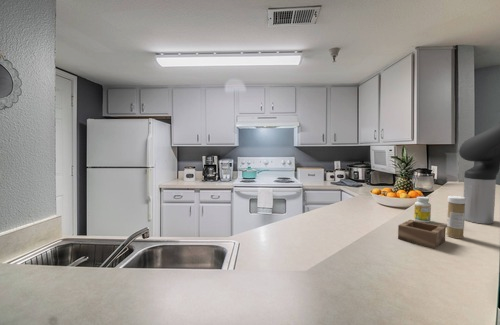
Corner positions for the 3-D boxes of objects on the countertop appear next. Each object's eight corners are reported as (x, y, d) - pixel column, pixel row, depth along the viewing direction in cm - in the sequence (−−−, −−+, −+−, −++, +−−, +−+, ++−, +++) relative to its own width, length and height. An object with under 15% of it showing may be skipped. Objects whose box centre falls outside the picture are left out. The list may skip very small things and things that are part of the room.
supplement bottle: (432, 223, 95) (433, 199, 95) (416, 222, 97) (417, 198, 97) (427, 219, 101) (428, 196, 100) (412, 218, 102) (413, 195, 102)
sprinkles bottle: (448, 233, 85) (449, 194, 84) (465, 236, 81) (467, 196, 80) (444, 236, 82) (446, 196, 81) (462, 240, 78) (464, 198, 77)
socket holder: (409, 232, 86) (410, 219, 85) (445, 240, 78) (445, 226, 78) (397, 238, 80) (398, 225, 79) (435, 248, 72) (435, 233, 71)
